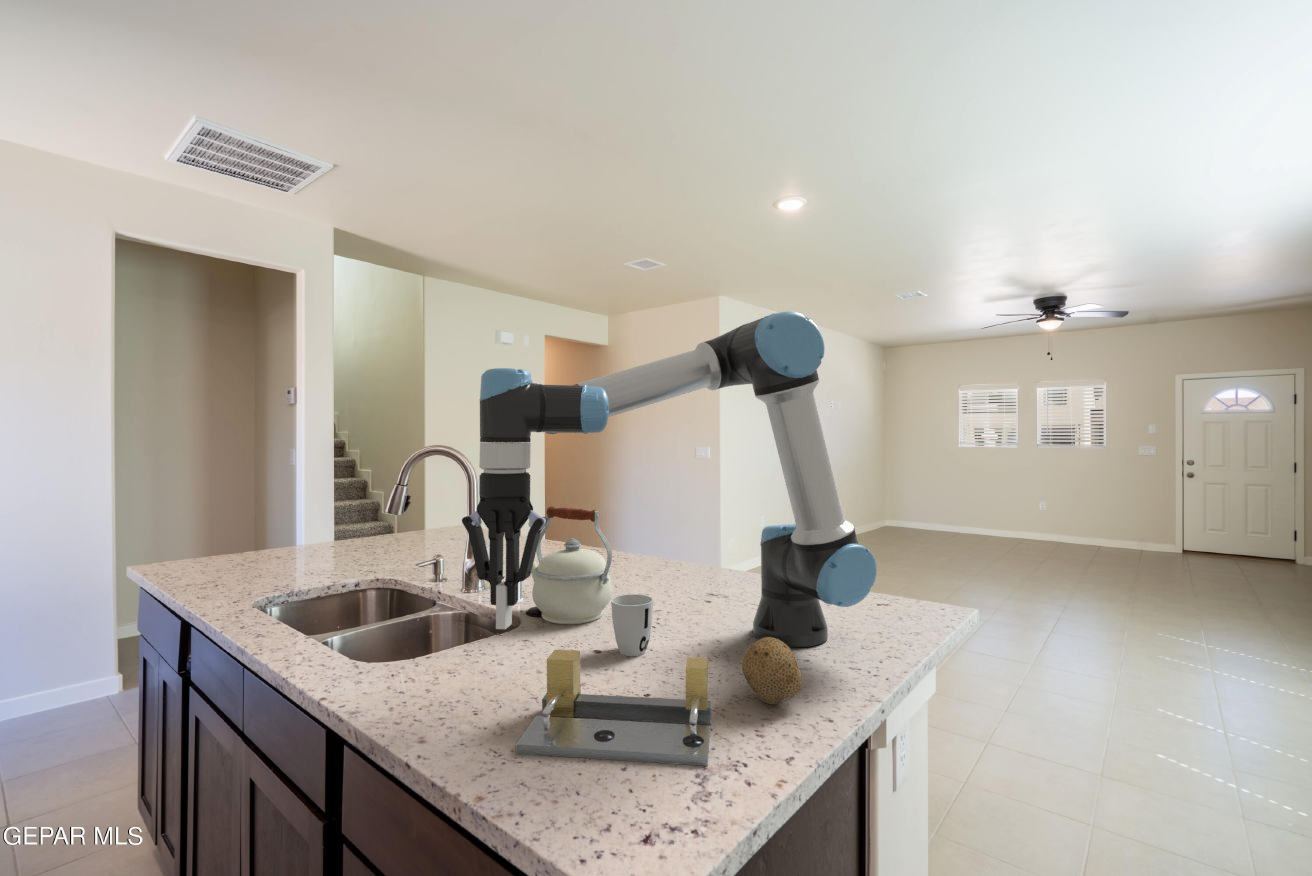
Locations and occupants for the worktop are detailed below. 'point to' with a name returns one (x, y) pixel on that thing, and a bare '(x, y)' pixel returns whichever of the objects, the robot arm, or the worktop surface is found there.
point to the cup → (632, 622)
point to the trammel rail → (654, 703)
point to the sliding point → (561, 684)
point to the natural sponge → (771, 670)
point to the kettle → (572, 576)
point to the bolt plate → (616, 740)
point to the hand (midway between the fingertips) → (504, 626)
